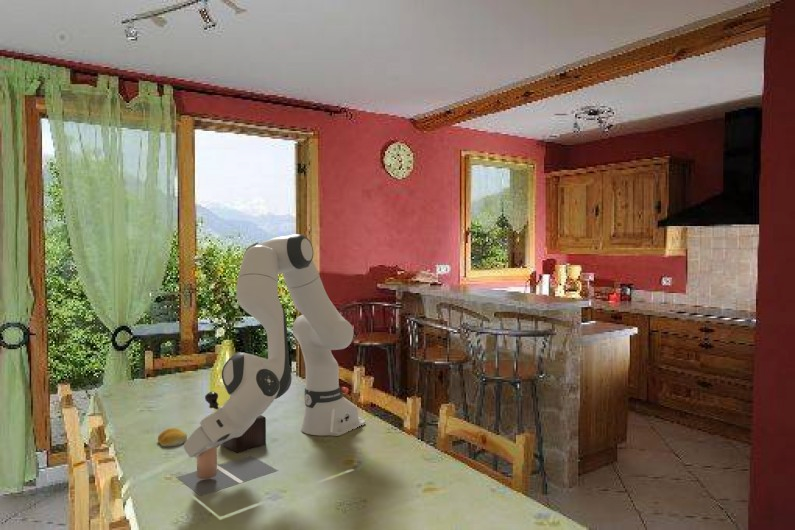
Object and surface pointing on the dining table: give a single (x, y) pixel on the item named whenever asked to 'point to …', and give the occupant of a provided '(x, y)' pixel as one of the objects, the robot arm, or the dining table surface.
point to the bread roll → (172, 437)
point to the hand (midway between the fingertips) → (204, 450)
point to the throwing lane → (228, 475)
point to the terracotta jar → (207, 464)
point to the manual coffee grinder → (250, 438)
